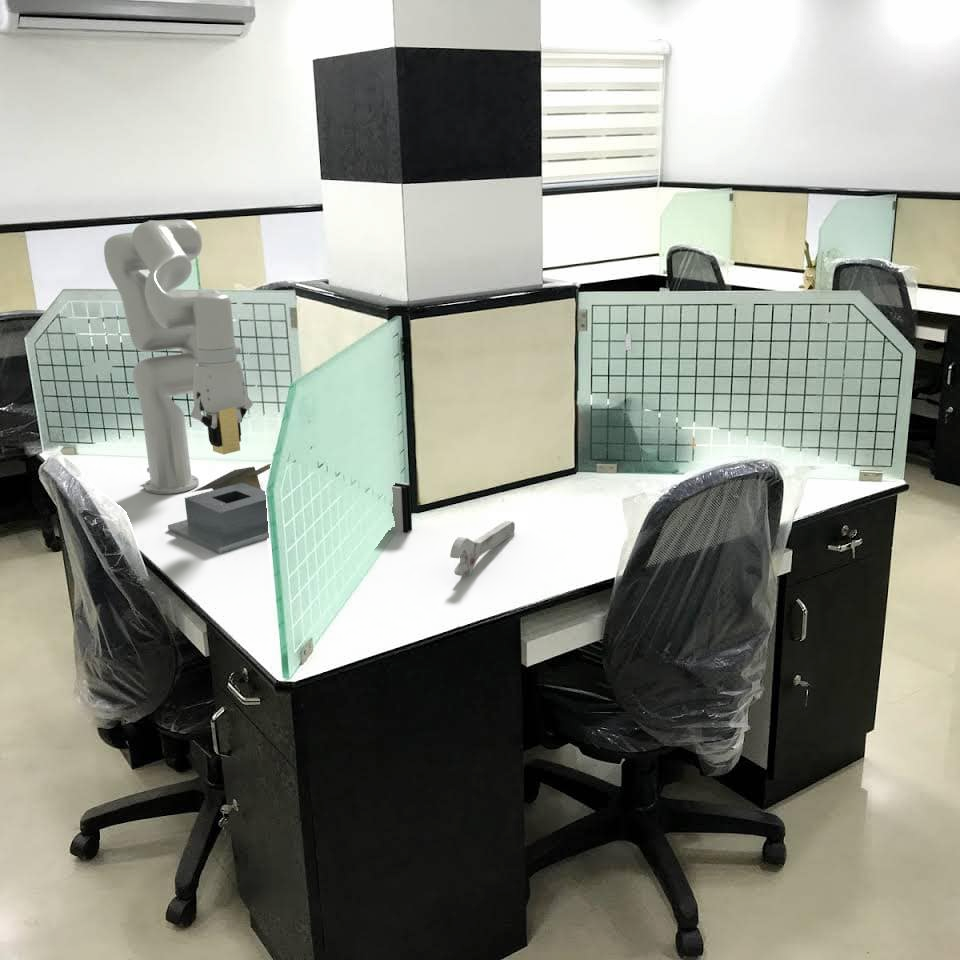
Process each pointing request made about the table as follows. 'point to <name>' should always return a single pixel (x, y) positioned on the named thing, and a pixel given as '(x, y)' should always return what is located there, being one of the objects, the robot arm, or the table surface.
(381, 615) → the table surface
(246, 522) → the collar block
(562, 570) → the table surface
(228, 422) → the brass pin
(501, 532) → the wrench
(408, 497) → the hinge
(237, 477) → the beige piece
